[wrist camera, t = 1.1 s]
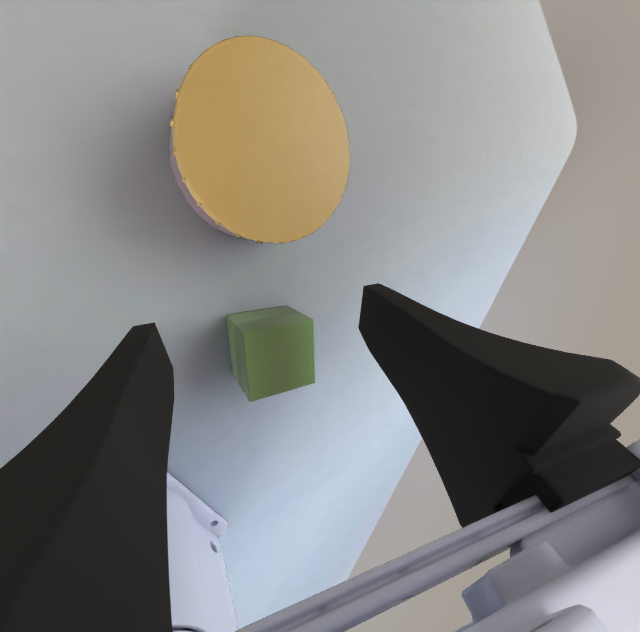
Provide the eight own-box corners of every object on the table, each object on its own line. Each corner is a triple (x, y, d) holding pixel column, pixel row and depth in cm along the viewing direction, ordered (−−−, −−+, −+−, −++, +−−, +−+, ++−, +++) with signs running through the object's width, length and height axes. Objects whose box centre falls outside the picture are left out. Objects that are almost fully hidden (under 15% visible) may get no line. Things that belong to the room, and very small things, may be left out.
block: (287, 305, 22) (313, 319, 18) (290, 360, 23) (315, 383, 20) (225, 314, 20) (242, 332, 16) (232, 374, 21) (249, 402, 18)
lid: (358, 198, 19) (371, 196, 18) (239, 272, 16) (245, 276, 15) (295, 24, 15) (307, 7, 13) (123, 88, 12) (121, 74, 11)
